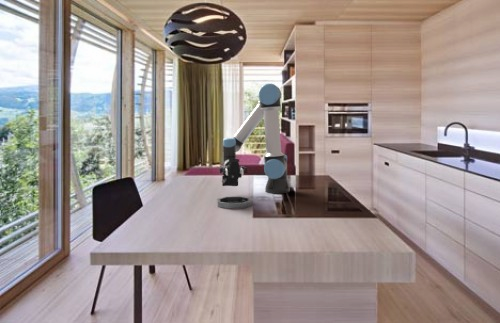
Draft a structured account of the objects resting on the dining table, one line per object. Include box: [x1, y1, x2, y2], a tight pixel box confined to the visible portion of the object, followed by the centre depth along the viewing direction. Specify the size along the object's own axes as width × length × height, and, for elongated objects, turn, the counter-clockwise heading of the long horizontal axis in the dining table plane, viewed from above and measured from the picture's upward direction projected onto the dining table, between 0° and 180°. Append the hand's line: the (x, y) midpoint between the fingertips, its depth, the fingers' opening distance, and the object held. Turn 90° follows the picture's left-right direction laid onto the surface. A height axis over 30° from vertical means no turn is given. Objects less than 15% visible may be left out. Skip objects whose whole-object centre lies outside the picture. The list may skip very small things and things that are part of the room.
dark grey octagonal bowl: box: [216, 195, 253, 210], centre depth 210 cm, size 18×18×2 cm
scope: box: [221, 158, 243, 187], centre depth 208 cm, size 8×14×10 cm
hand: (234, 172), depth 203 cm, fingers closed on scope, 7 cm apart
